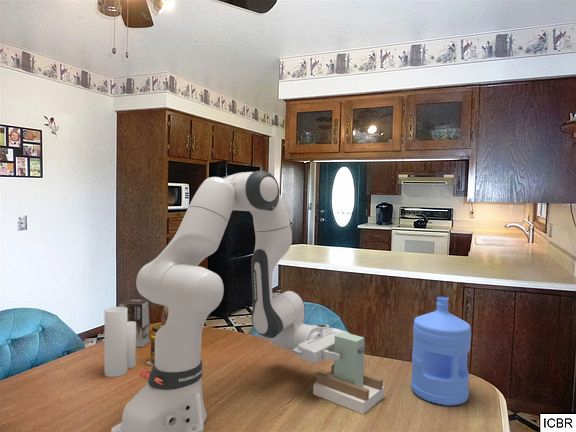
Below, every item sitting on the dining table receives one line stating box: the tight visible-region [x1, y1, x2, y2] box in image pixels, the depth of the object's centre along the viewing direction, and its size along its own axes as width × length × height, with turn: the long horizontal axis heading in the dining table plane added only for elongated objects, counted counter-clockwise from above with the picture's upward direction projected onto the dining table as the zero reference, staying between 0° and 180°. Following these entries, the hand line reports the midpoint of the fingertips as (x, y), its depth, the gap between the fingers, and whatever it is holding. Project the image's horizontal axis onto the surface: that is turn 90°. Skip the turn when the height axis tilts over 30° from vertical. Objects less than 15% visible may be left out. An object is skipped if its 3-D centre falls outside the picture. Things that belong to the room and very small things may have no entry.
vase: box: [103, 306, 137, 378], centre depth 128 cm, size 11×7×20 cm, turn 174°
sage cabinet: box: [333, 332, 366, 387], centre depth 113 cm, size 4×8×14 cm, turn 51°
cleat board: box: [312, 363, 385, 415], centre depth 114 cm, size 12×16×6 cm
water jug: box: [410, 296, 472, 406], centre depth 116 cm, size 16×16×28 cm
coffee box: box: [118, 298, 151, 348], centre depth 150 cm, size 9×6×16 cm
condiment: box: [146, 323, 163, 366], centre depth 135 cm, size 7×8×12 cm
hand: (349, 352), depth 114 cm, fingers open, 8 cm apart
